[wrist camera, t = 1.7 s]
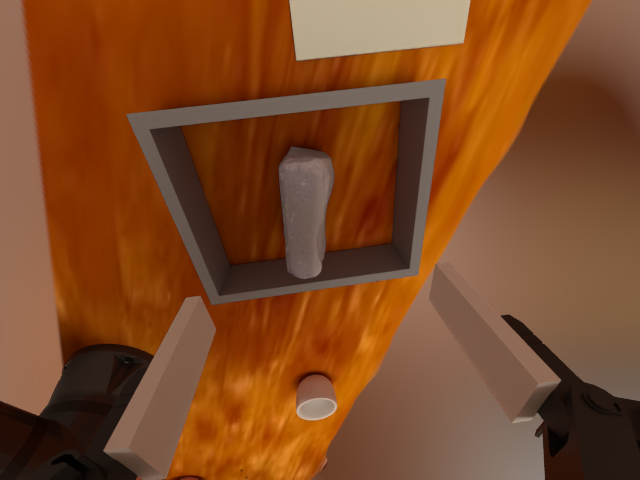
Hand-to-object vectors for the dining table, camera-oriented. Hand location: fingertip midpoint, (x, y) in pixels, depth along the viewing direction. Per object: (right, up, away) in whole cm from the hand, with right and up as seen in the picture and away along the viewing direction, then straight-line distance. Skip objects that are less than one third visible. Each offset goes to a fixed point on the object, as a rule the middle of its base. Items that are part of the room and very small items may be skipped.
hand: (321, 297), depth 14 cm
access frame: (-2, +9, +16) cm, 18 cm away
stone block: (-2, +9, +16) cm, 18 cm away
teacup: (-2, -26, +36) cm, 45 cm away
